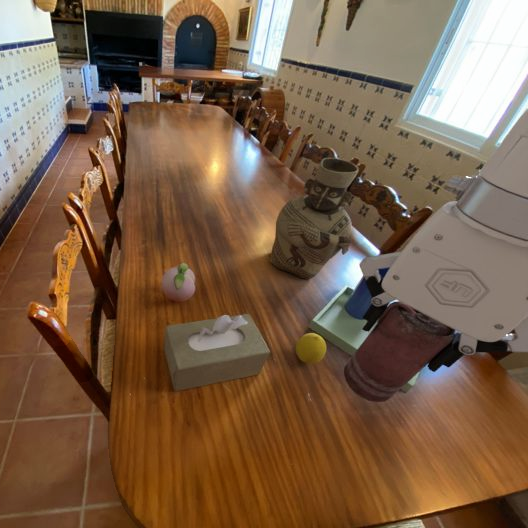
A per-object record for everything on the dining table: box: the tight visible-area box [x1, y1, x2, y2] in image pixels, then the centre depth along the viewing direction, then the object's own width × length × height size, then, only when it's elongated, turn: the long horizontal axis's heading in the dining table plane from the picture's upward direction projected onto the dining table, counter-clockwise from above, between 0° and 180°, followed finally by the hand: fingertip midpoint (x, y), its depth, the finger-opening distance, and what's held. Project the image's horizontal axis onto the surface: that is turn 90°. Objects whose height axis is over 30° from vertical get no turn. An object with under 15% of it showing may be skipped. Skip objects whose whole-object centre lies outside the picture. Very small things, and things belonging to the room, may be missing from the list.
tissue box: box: [163, 313, 271, 392], centre depth 57 cm, size 19×10×16 cm, turn 104°
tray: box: [308, 283, 421, 393], centre depth 70 cm, size 22×20×3 cm
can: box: [343, 300, 456, 403], centre depth 36 cm, size 6×6×14 cm
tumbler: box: [344, 268, 390, 320], centre depth 72 cm, size 6×6×14 cm
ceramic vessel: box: [270, 157, 359, 280], centre depth 81 cm, size 19×21×30 cm
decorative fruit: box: [161, 262, 196, 303], centre depth 73 cm, size 9×8×10 cm
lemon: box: [295, 332, 327, 365], centre depth 62 cm, size 6×6×8 cm
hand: (399, 342), depth 35 cm, fingers closed on can, 6 cm apart
